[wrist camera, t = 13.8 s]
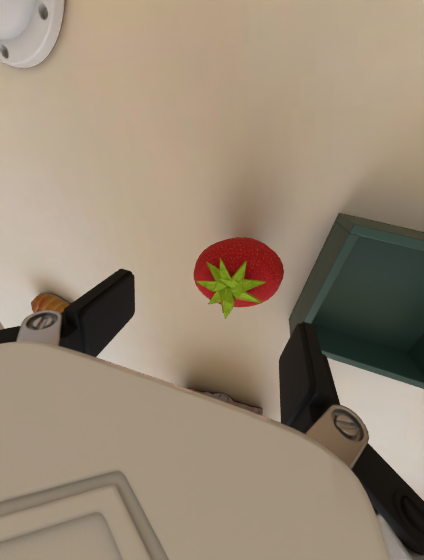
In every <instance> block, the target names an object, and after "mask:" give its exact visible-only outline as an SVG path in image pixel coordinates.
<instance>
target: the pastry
mask: <svg viewBox="0 0 424 560" xmlns="http://www.w3.org/2000/svg"><path fill="white" fill-rule="evenodd" d="M69 305H70V304H69V303H68V302H67V301H64V300H63V299H61V298H60V297H58V296H55V295H53V294H49V293H41V294H40V295H38V296H37V297H36V298H35V299H34V300H33V301H32V302H31V306H32V310H33V312H34V313H36V312H39V311H44V310H53V311H57V312H59V313H62V312H63V311H64V308H66V307H67V306H69Z"/></svg>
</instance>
